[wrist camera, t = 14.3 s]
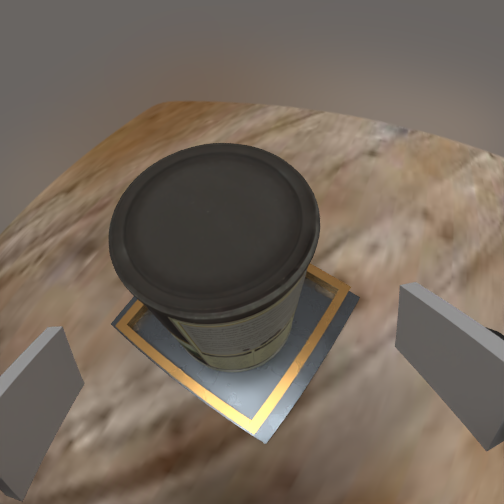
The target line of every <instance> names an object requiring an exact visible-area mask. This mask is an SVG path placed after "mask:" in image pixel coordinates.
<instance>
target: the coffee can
mask: <svg viewBox="0 0 504 504" xmlns="http://www.w3.org/2000/svg"><path fill="white" fill-rule="evenodd" d="M319 233H320V214H319V208H318V205H317V201H316V199H315V196H314V193H313V192H312V190H311V188H310V186H309V185H308V183H307V182H306V181H305V179H304V178H303V177H302V175H301V174H300V173H299V172H298V171H297V170H296V169H294V168H293V167H292V166H291V165H290V164H288V163H287V162H286V161H284V160H283V159H281V158H280V157H278V156H276V155H274V154H272V153H270V152H267V151H265V150H262V149H259V148H256V147H252V146H247V145H241V144H231V143H213V144H204V145H199V146H195V147H191V148H188V149H184V150H181V151H178V152H176V153H174V154H171V155H169V156H167V157H165V158H163V159H161V160H159V161H158V162H156V163H154V164H153V165H151V166H150V167H148V168H147V169H146V170H145V171H143V172H142V173H141V174H140V175H139V176H138V177H137V178H136V179H135V180H134V181H133V182H132V183H131V184H130V185H129V187H128V188H127V189H126V191H125V192H124V194H123V195H122V196H121V198H120V200H119V202H118V204H117V206H116V208H115V210H114V213H113V216H112V219H111V223H110V228H109V252H110V257H111V260H112V263H113V266H114V269H115V271H116V273H117V275H118V276H119V278H120V280H121V281H122V282H123V284H124V285H125V287H126V288H127V289H128V290H129V291H130V292H131V293H132V294H133V295H134V296H135V297H136V298H137V299H138V300H139V301H140V302H141V303H143V304H144V305H145V306H146V307H147V308H148V309H149V310H150V311H151V312H152V314H153V315H154V316H155V317H156V318H157V319H158V320H159V321H160V322H161V324H162V325H164V327H165V328H166V329H167V330H168V331H169V332H170V333H171V334H172V335H173V336H174V337H175V338H176V340H177V341H178V342H179V343H180V344H181V345H182V346H183V347H184V348H185V350H186V351H187V352H188V353H189V354H190V355H191V356H192V357H193V358H194V359H195V360H196V361H198V362H199V363H201V364H203V365H205V366H207V367H209V368H211V369H214V370H217V371H223V372H242V371H247V370H251V369H254V368H257V367H259V366H261V365H263V364H265V363H266V362H267V361H269V360H270V359H272V358H273V357H274V356H275V355H276V354H277V353H278V352H279V351H280V350H281V348H282V347H283V346H284V344H285V342H286V341H287V339H288V336H289V334H290V332H291V328H292V322H293V317H294V314H295V310H296V307H297V304H298V300H299V297H300V293H301V289H302V286H303V283H304V279H305V275H306V272H307V268H308V266H309V264H310V262H311V260H312V258H313V255H314V253H315V250H316V247H317V243H318V239H319Z"/></svg>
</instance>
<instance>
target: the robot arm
mask: <svg viewBox="0 0 504 504" xmlns="http://www.w3.org/2000/svg"><path fill="white" fill-rule="evenodd" d="M395 347H396V348H397V349H398V350H399V351H400V353H401V354H402V355H403V356H404V357H405V358H406V359H407V360H408V361H409V362H410V364H411V365H412V366H413V367H414V368H415V369H416V370H417V371H418V372H419V374H420V375H421V376H422V377H423V378H424V379H425V380H426V381H427V383H428V384H429V385H430V386H431V387H432V388H433V389H434V390H435V392H436V393H437V394H438V395H439V396H440V397H441V398H442V400H443V401H444V402H445V403H446V404H447V405H448V406H449V408H450V409H451V410H452V411H453V412H454V413H455V415H456V416H457V417H458V418H459V419H460V420H461V422H462V423H463V424H464V425H465V426H466V427H467V429H468V430H469V431H470V432H471V433H472V435H473V436H474V437H475V438H476V439H477V440H478V442H479V443H480V444H481V445H482V446H483V448H484V449H485V450H486V451H488V450H490V449H492V448H493V447H495V446H496V445H498V444H500V443H501V442H503V441H504V335H502V334H501V333H499V332H497V331H494V330H492V329H489V328H486V327H484V326H482V325H481V324H479V323H478V322H476V321H475V320H474V319H472V318H471V317H469V316H468V315H466V314H465V313H463V312H462V311H460V310H459V309H457V308H456V307H454V306H452V305H451V304H449V303H448V302H446V301H445V300H443V299H442V298H440V297H439V296H437V295H436V294H434V293H432V292H431V291H429V290H428V289H426V288H425V287H423V286H421V285H420V284H418V283H417V282H414V283H409V284H404V285H400V292H399V308H398V321H397V332H396V341H395ZM83 385H84V381H83V379H82V377H81V374H80V372H79V369H78V367H77V364H76V362H75V359H74V357H73V354H72V351H71V349H70V346H69V343H68V340H67V338H66V335H65V332H64V329H63V327H48V328H47V329H46V330H45V331H44V332H43V333H42V334H41V335H40V336H39V337H38V338H37V339H36V340H35V341H34V342H33V343H32V344H31V345H30V346H29V347H28V348H27V349H26V350H25V351H24V352H23V353H22V354H21V355H20V356H19V357H18V358H17V359H16V360H15V361H14V362H13V364H12V365H11V366H10V367H9V368H8V369H7V370H6V371H5V372H4V373H3V374H2V375H1V376H0V490H1V491H2V492H3V493H4V494H5V495H6V496H9V497H11V498H14V499H17V500H19V501H22V502H23V500H24V497H25V495H26V493H27V491H28V489H29V487H30V485H31V483H32V480H33V478H34V476H35V474H36V472H37V470H38V468H39V466H40V464H41V462H42V460H43V458H44V456H45V454H46V452H47V450H48V449H49V447H50V445H51V443H52V441H53V439H54V437H55V435H56V433H57V432H58V430H59V428H60V426H61V424H62V422H63V421H64V419H65V417H66V415H67V413H68V412H69V410H70V408H71V406H72V404H73V403H74V401H75V399H76V397H77V396H78V394H79V392H80V390H81V389H82V387H83Z"/></svg>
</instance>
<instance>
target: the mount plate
mask: <svg viewBox="0 0 504 504" xmlns="http://www.w3.org/2000/svg"><path fill="white" fill-rule="evenodd" d="M350 288H351V287H350V286H348V285H347V284H345V283H343V282H341V281H340V280H338V279H336V278H335V277H333V276H331V275H329V274H328V273H326V272H324V271H322V270H321V269H319V268H317V267H315V266H314V265H312V264H309V266H308V268H307V272H306V275H305V279H304V283H303V286H302V289H301V293H300V297H299V300H298V304H297V307H296V310H295V314H294V317H293V322H292V328H291V332H290V334H289V336H288V339H287V341H286V342H285V344H284V346H283V347H282V348H281V350H280V351H279V352H278V353H277V354H276V355H275V356H274V357H273V358H272V359H270V360H269V361H267V362H266V363H265V364H263V365H261V366H259V367H257V368H254V369H251V370H247V371H242V372H223V371H217V370H214V369H211V368H209V367H207V366H205V365H203V364H201V363H199V362H198V361H196V360H195V359H194V358H193V357H192V356H191V355H190V354H189V353H188V352H187V351H186V350H185V348H184V347H183V346H182V345H181V344H180V343H179V342H178V341H177V340H176V338H175V337H174V336H173V335H172V334H171V333H170V332H169V331H168V330H167V329H166V328H165V327H164V325H162V324H161V322H160V321H159V320H158V319H157V318H156V317H155V316H154V315H153V314H152V312H151V311H150V310H149V309H148V308H147V307H146V306H145V305H144V304H143V303H141V302H140V301H139V300H138V299H137V298H136V297H135V296H134V297H133V298H132V300H131V301H130V302H129V303H128V304H127V305H126V307H125V308H124V309H123V310H122V311H121V312H120V314H119V315H118V316H117V317H116V318H115V320H114V321H113V322H112V323H111V325H112V326H113V327H114V328H116V329H117V330H118V331H119V332H120V333H121V334H122V335H123V336H124V337H125V338H126V339H127V340H129V341H130V342H131V343H132V344H133V345H134V346H135V347H136V348H138V349H139V350H140V351H141V352H142V353H143V354H144V355H146V356H147V357H148V358H149V359H150V360H151V361H153V362H154V363H155V364H156V365H157V366H158V367H160V368H161V369H162V370H163V371H165V372H166V373H167V374H168V375H169V376H171V377H172V378H173V379H174V380H176V381H177V382H178V383H179V384H181V385H182V386H183V387H185V388H186V389H187V390H188V391H190V392H191V393H192V394H194V395H195V396H196V397H198V398H199V399H200V400H202V401H203V402H204V403H206V404H207V405H209V406H210V407H211V408H213V409H214V410H216V411H217V412H218V413H220V414H221V415H223V416H224V417H225V418H227V419H228V420H230V421H231V422H233V423H234V424H236V425H237V426H239V427H240V428H242V429H243V430H245V431H246V432H248V433H249V434H251V435H252V436H254V437H256V438H257V439H259V440H260V441H262V442H263V443H265V444H266V443H267V442H268V440H269V439H270V438H271V436H272V435H273V434H274V432H275V431H276V430H277V428H278V427H279V426H280V424H281V423H282V421H283V420H284V419H285V417H286V416H287V414H288V413H289V411H290V410H291V409H292V407H293V406H294V404H295V403H296V401H297V400H298V398H299V397H300V395H301V394H302V392H303V391H304V389H305V388H306V386H307V385H308V383H309V382H310V380H311V379H312V377H313V376H314V374H315V373H316V371H317V369H318V368H319V366H320V365H321V363H322V362H323V360H324V358H325V357H326V355H327V353H328V352H329V350H330V349H331V347H332V345H333V344H334V342H335V340H336V339H337V337H338V335H339V334H340V332H341V330H342V328H343V327H344V325H345V323H346V321H347V320H348V318H349V316H350V314H351V313H352V311H353V309H354V307H355V305H356V304H357V302H358V300H359V298H360V297H358V296H357V295H355V294H353V293H351V292H350V291H349V290H350Z"/></svg>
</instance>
